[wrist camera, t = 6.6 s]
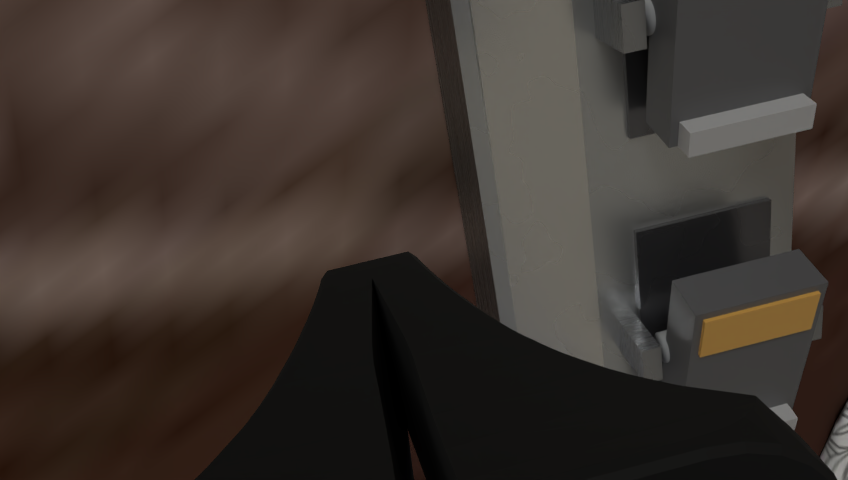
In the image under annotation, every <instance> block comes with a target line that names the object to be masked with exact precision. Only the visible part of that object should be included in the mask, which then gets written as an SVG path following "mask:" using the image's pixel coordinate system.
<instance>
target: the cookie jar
mask: <svg viewBox="0 0 848 480" xmlns="http://www.w3.org/2000/svg"><path fill="white" fill-rule="evenodd" d="M820 459H821V460H822V461H823V462H824V463H825V464H826V465H827V466H828V467H829V468H830V469H831V471H832V472H833V473H834V474H835V476H836V478H837V480H848V401H847V403H846V404H845V406H844V408H843V410H842V411H841V413H840V415H839V417H838V418H837V420H836V422H835V424H834V427H833V429H832V431H831V433H830V435H829V438H828V440H827V442H826V444H825V446H824V449H823V451H822V453H821V455H820Z"/></svg>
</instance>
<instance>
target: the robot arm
mask: <svg viewBox="0 0 848 480" xmlns="http://www.w3.org/2000/svg"><path fill="white" fill-rule="evenodd" d="M407 429H408V430H407ZM408 431H409V434H410V437H411V440H412V442H413V445H414V448H415V450H416V453H417V456H418V458H419V461H420V464H421V467H422V469H423V472H424V475H425V477H426V480H837V478H836V476H835V474H834V473H833V472H832V471H831V469H830V468H829V467H828V466H827V465H826V464H825V463H824V462H823V461H822V460H821V459H820V457H819V456H818V455H817V454H816V453H815V452H814V451H813V450H812V449H811V448H810V446H809V445H808V444H807V443H806V442H805V441H804V440H803V439H802V438H801V437H800V436H799V435H798V434H797V433H796V432H795V431H794V430H793V429H792V428H791V427H790V426H789V425H788V424H787V423H786V422H785V421H783V420H782V419H781V418H780V417H779V416H778V415H777V414H775V413H774V412H773V411H772V410H771V409H770V408H769V407H767V406H766V405H765V404H764V403H763V402H762V401H761V400H760V399H759V398H758V397H757V396H755V395H747V394H740V393H732V392H725V391H717V390H710V389H702V388H695V387H688V386H681V385H675V384H670V383H666V382H661V381H657V380H652V379H648V378H643V377H639V376H634V375H630V374H627V373H623V372H619V371H616V370H612V369H609V368H605V367H602V366H599V365H596V364H593V363H590V362H587V361H584V360H581V359H578V358H575V357H573V356H570V355H567V354H565V353H562V352H560V351H557V350H554V349H552V348H550V347H548V346H545V345H543V344H541V343H539V342H537V341H535V340H533V339H530V338H528V337H526V336H524V335H522V334H520V333H518V332H516V331H514V330H512V329H510V328H509V327H507V326H505V325H504V324H502V323H500V322H499V321H497V320H496V319H494V318H492V317H491V316H489V315H488V314H486V313H485V312H483V311H482V310H480V309H479V308H477V307H476V306H474V305H473V304H472V303H470V302H469V301H468V300H466V299H465V298H463V297H462V296H461V295H459V294H458V293H457V292H455V291H454V290H453V289H452V288H450V287H449V286H448V285H446V284H445V283H444V282H443V281H442V280H441V279H439V278H438V277H437V276H436V275H435V274H434V273H432V272H431V271H430V270H429V269H428V268H427V267H426V266H425V265H424V264H423V263H422V262H421V261H420V260H419V259H418V258H417V257H416V256H414V255H413V254H411V253H409V252H404V253H400V254H396V255H392V256H388V257H383V258H379V259H375V260H371V261H367V262H362V263H358V264H354V265H350V266H346V267H342V268H337V269H333V270H329V271H327V272H326V273H325V275H324V276H323V278H322V279H321V283H320V287H319V290H318V293H317V296H316V299H315V302H314V305H313V307H312V310H311V312H310V315H309V317H308V319H307V322H306V324H305V326H304V328H303V330H302V332H301V335H300V337H299V339H298V341H297V343H296V345H295V347H294V349H293V351H292V353H291V355H290V357H289V358H288V360H287V362H286V364H285V365H284V367H283V369H282V371H281V372H280V374H279V376H278V378H277V380H276V381H275V383H274V385H273V386H272V388H271V389H270V391H269V392H268V394H267V395H266V397H265V399H264V400H263V401H262V403H261V404H260V406H259V407H258V409H257V410H256V411H255V413H254V414H253V415H252V417H251V418H250V420H249V421H248V422H247V423H246V425H245V426H244V427H243V428H242V430H241V431H240V432H239V433H238V434H237V435H236V436H235V437H234V438H233V439H232V441H231V442H230V443H229V444H228V445H227V446H226V447H225V448H224V449H223V450H222V452H221V453H220V454H219V455H218V456H217V457H216V458H215V459H214V460H213V461H212V463H211V464H210V465H209V466H208V467H207V468H206V469H205V470H204V471H203V472H202V473H201V474H200V475H199V476H198V477H197V478H196V479H195V480H414V477H413V469H412V461H411V453H410V445H409V437H408Z"/></svg>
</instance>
